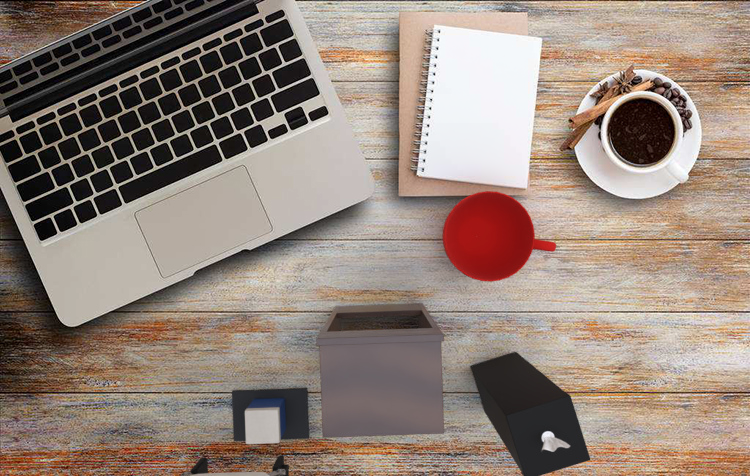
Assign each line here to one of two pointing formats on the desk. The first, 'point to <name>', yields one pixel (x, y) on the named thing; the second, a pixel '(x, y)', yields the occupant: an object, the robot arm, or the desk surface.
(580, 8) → the desk surface
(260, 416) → the box
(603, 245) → the desk surface
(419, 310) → the square planter pot
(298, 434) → the mat
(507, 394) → the tissue box
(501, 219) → the ceramic cup
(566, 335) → the desk surface
